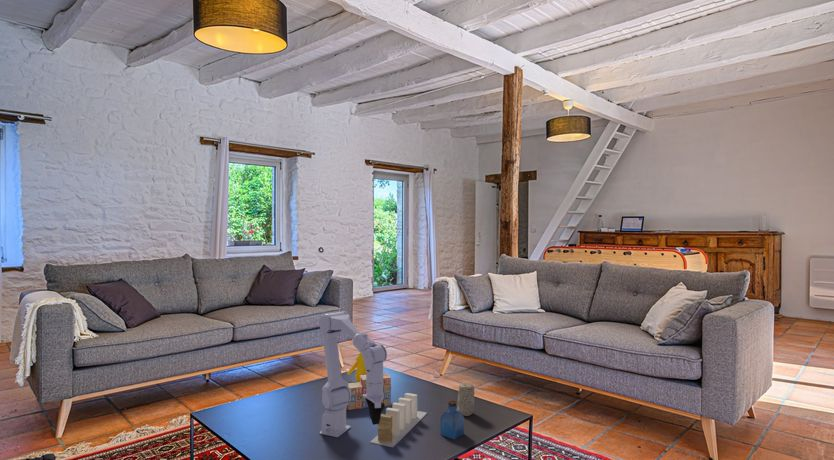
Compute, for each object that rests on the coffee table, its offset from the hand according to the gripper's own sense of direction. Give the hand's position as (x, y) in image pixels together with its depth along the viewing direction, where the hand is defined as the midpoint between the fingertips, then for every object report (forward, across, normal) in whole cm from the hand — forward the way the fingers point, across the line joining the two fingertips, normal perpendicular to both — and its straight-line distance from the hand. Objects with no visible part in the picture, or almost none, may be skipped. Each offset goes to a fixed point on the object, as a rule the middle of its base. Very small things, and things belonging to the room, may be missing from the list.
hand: (374, 421), depth 163 cm
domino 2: (+10, -16, +12) cm, 22 cm away
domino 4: (+10, -24, +18) cm, 32 cm away
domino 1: (+10, -11, +8) cm, 17 cm away
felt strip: (+10, -17, +13) cm, 23 cm away
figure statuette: (+11, -71, +6) cm, 72 cm away
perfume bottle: (+11, -6, +30) cm, 32 cm away
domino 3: (+10, -20, +15) cm, 27 cm away
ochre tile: (+10, -6, +5) cm, 13 cm away
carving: (+11, -23, +41) cm, 48 cm away
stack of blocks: (+11, -41, +2) cm, 43 cm away
